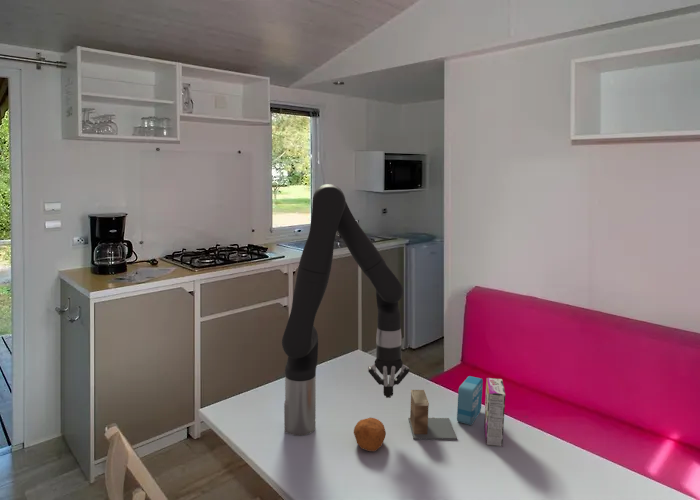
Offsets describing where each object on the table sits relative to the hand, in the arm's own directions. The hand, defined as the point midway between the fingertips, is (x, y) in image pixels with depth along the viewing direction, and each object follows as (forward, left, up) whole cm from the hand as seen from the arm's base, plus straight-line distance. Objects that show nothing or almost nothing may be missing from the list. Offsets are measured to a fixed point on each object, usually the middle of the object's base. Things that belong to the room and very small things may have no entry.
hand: (388, 396), depth 155 cm
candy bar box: (+31, -4, -11) cm, 33 cm away
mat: (+14, 0, -11) cm, 17 cm away
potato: (-6, -9, -11) cm, 15 cm away
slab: (+10, 0, -10) cm, 14 cm away
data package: (+27, +8, -11) cm, 30 cm away
